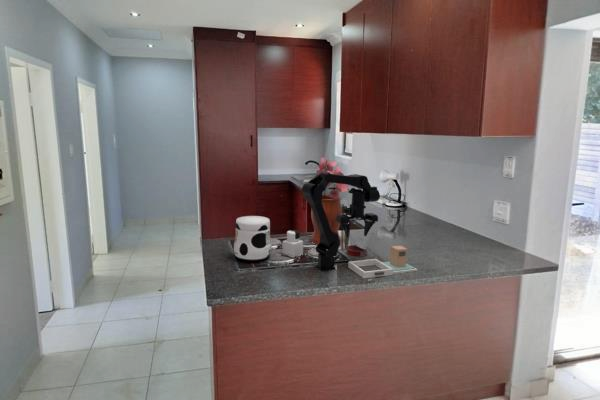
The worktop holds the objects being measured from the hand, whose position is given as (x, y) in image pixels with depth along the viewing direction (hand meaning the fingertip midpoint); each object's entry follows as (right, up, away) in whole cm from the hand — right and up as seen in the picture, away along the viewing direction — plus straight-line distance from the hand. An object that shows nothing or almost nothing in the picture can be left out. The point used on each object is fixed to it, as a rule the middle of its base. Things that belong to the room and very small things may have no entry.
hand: (356, 236), depth 183 cm
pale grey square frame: (+5, -14, -8) cm, 17 cm away
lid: (+18, -13, -3) cm, 23 cm away
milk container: (-47, -10, +4) cm, 49 cm away
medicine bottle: (-29, -10, +9) cm, 32 cm away
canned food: (+2, -10, +15) cm, 18 cm away
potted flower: (-12, -6, +34) cm, 36 cm away
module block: (+18, -12, -4) cm, 22 cm away
